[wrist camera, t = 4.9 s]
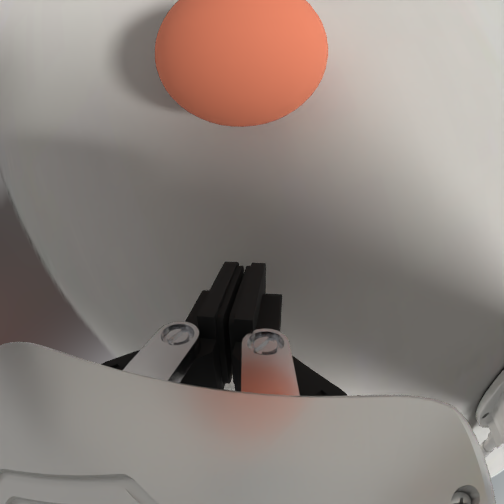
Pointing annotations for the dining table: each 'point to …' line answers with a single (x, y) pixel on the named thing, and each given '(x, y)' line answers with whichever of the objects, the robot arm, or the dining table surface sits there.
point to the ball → (241, 58)
